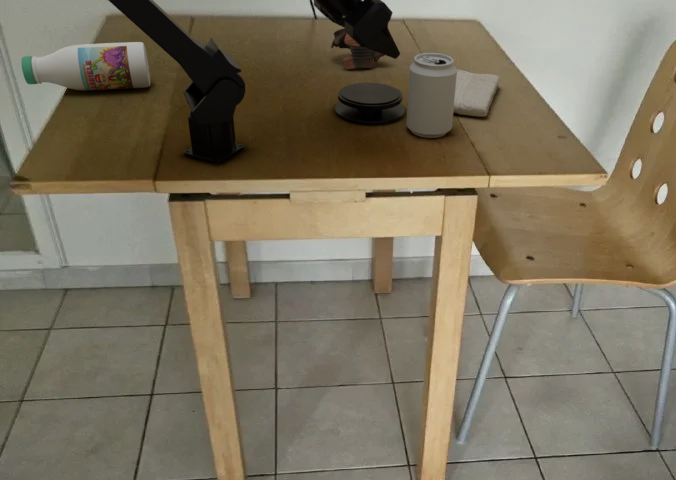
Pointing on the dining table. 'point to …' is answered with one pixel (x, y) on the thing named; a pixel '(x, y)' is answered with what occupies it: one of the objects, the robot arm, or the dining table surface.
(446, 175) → the dining table surface
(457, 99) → the washcloth
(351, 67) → the pottery mug
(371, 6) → the robot arm
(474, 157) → the dining table surface
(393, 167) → the dining table surface
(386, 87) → the stand
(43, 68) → the milk bottle
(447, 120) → the can
